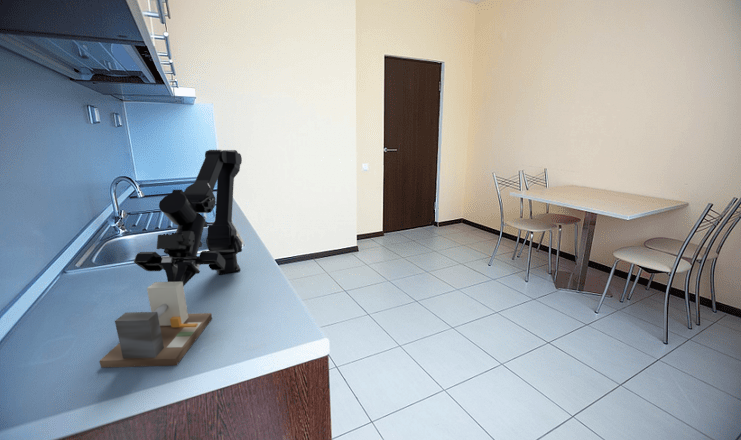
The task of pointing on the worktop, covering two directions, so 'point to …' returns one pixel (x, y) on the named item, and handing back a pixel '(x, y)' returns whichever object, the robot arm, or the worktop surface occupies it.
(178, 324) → the drag pointer
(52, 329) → the worktop surface
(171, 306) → the cream eraser-shaped block
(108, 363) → the board
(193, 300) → the worktop surface
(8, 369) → the worktop surface
